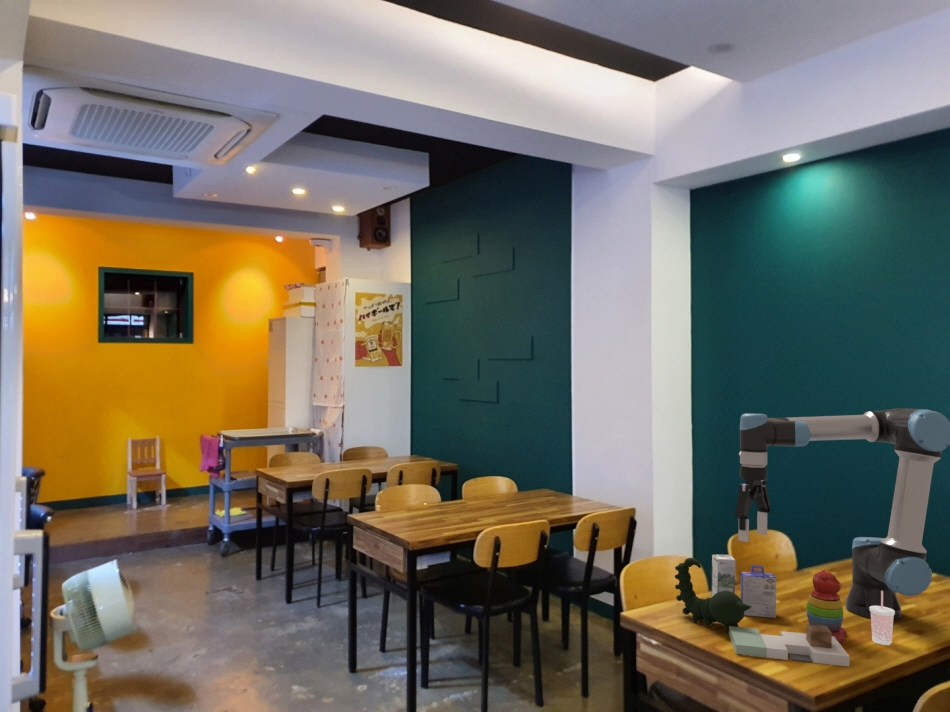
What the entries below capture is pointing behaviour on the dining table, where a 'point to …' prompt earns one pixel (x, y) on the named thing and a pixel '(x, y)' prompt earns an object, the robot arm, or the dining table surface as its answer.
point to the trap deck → (785, 647)
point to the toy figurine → (708, 601)
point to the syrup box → (723, 573)
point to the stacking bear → (826, 605)
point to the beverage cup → (882, 623)
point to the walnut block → (818, 636)
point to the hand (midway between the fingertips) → (753, 537)
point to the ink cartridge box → (759, 592)
